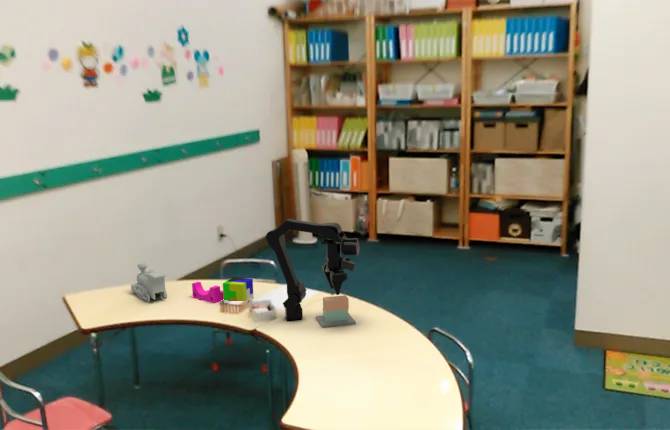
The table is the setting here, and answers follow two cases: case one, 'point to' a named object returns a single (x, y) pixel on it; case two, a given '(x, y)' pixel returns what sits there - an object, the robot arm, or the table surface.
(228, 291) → the puzzle toy
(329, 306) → the terracotta brick
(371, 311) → the table surface
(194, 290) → the toy block
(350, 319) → the baseplate
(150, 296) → the toy train
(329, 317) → the teal brick
